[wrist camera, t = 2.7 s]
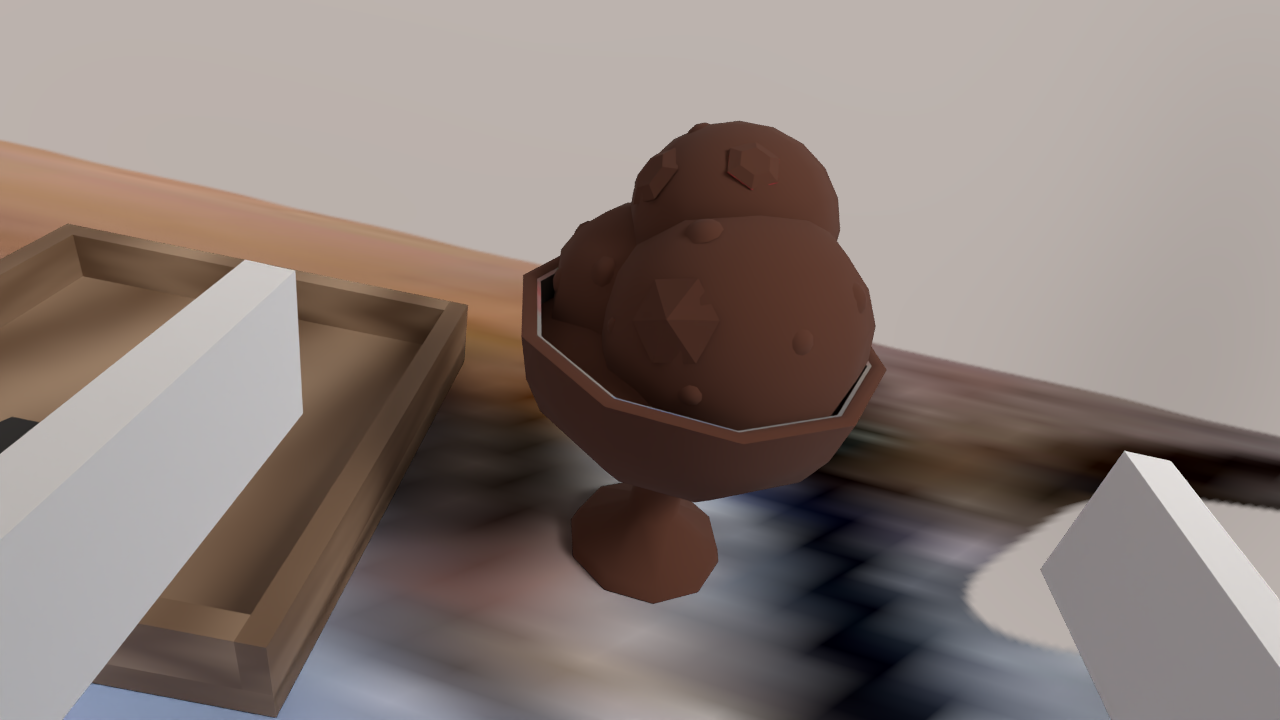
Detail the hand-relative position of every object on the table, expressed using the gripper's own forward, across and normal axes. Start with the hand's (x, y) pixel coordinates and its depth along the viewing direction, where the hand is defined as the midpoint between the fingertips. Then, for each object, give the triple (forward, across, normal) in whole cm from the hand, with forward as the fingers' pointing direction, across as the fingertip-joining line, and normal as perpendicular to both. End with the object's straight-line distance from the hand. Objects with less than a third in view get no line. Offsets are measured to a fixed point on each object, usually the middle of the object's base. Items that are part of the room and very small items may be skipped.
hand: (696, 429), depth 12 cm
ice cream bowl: (+10, +1, -13) cm, 17 cm away
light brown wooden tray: (+10, -17, -13) cm, 24 cm away
